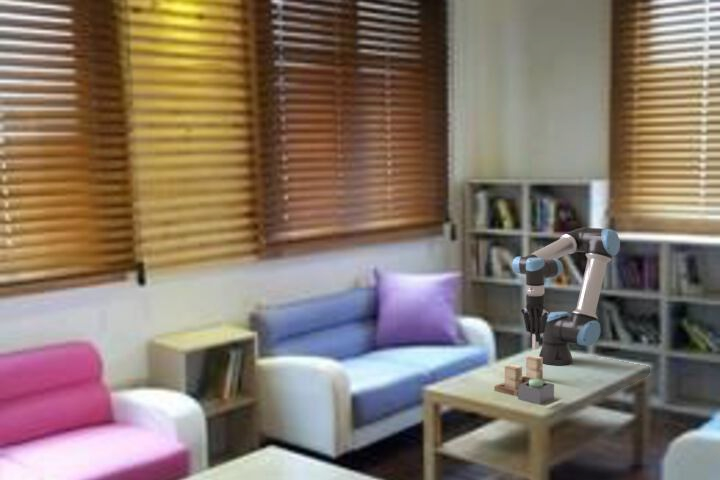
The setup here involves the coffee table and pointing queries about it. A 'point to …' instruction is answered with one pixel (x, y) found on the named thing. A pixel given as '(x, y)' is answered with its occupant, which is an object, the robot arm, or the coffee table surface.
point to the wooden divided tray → (502, 389)
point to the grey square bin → (536, 393)
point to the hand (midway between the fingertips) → (535, 348)
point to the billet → (534, 367)
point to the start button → (536, 383)
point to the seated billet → (513, 376)
